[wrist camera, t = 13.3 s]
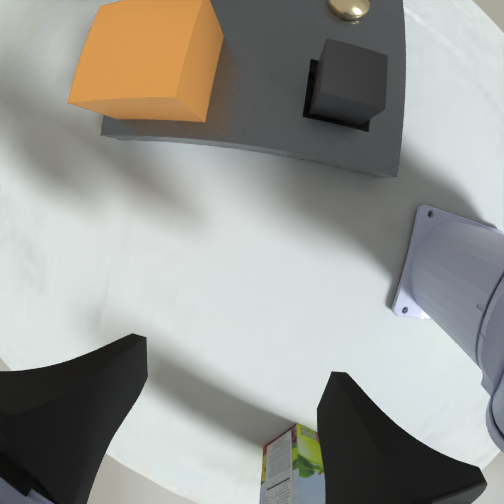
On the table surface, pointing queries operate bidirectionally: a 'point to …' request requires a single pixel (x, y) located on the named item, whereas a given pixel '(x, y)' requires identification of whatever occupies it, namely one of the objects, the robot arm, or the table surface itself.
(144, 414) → the table surface
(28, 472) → the robot arm
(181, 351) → the table surface
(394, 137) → the grey flat slab
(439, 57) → the table surface
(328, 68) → the block
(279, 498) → the snack box
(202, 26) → the cap
